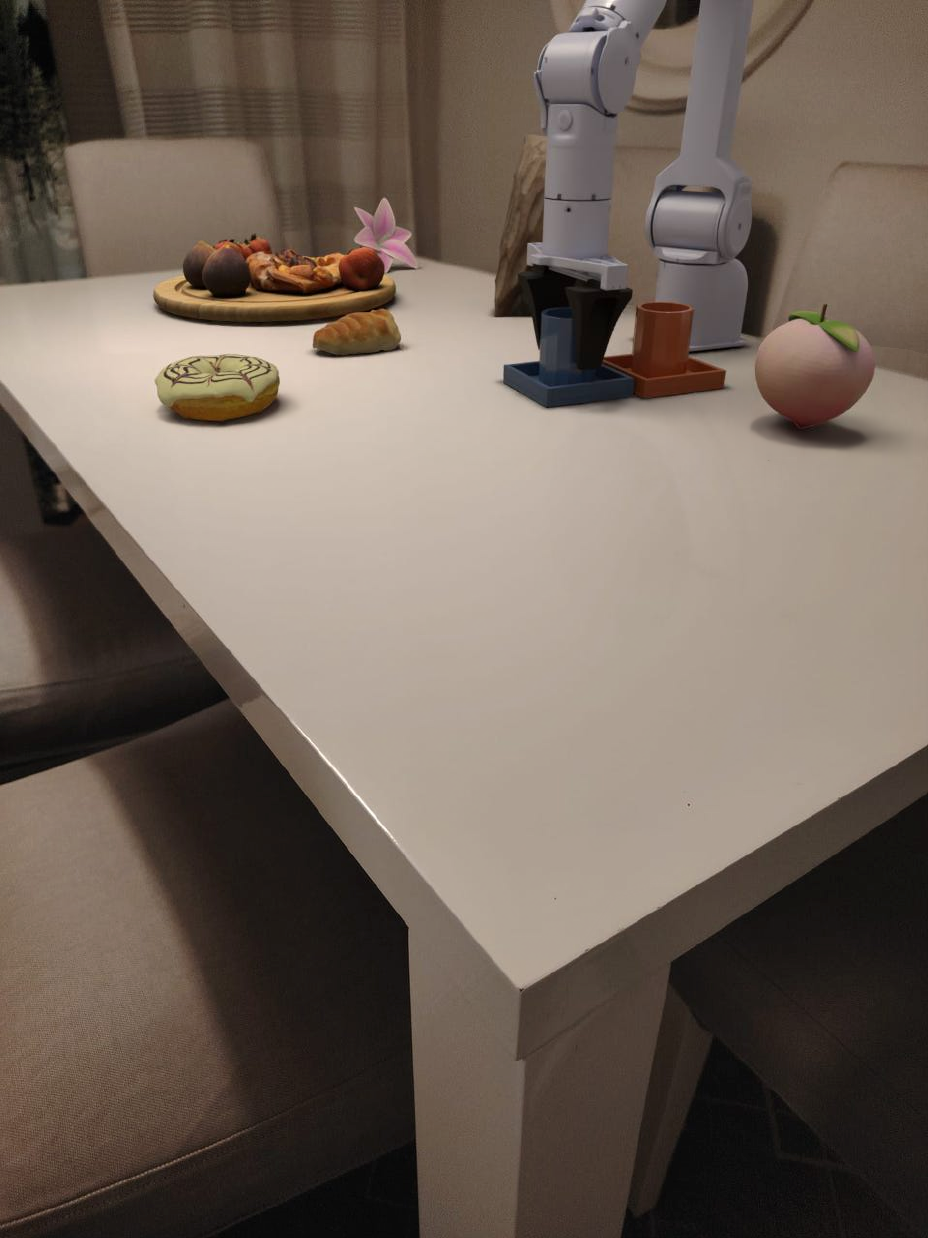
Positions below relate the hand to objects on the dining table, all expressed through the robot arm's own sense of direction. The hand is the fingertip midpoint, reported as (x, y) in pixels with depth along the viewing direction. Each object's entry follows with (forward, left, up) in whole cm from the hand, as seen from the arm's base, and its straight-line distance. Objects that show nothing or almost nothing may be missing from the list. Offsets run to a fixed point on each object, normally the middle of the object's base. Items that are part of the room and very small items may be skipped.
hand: (568, 358), depth 84 cm
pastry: (+13, -23, -3) cm, 27 cm away
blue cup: (0, 0, -2) cm, 2 cm away
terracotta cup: (-9, +1, -2) cm, 10 cm away
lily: (-7, -73, -3) cm, 73 cm away
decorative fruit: (-12, +18, -3) cm, 22 cm away
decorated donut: (+31, -7, -3) cm, 32 cm away
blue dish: (0, 0, -3) cm, 3 cm away
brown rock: (-14, -35, -3) cm, 38 cm away
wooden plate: (+15, -53, -3) cm, 55 cm away
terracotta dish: (-9, +1, -3) cm, 10 cm away
